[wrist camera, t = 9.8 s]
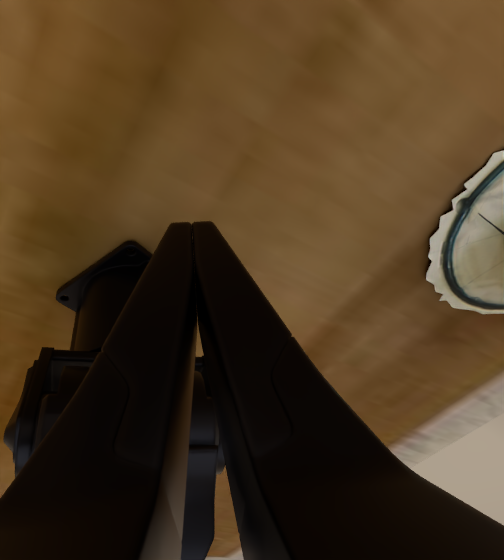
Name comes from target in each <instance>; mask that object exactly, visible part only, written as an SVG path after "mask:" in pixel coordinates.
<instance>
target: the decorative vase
mask: <svg viewBox="0 0 504 560" xmlns="http://www.w3.org/2000/svg"><path fill="white" fill-rule="evenodd" d="M464 186H465V187H466V188H467V190H466V191H464V192H463V193H461V194H460V195H458V196H457V197H455V198H454V199H452V204H453V210H452V211H450V212H449V213H447V214H445V215H443V216H441V217H440V224H439V229H438V230H437V231H436V232H435V234H434V235H433V236H432V237H431V238H430V252H429V255H428V258H429V259H430V260H432V263H431V265H430V267H429V269H428V271H427V274H426V280H427V281H429V282H430V283H432V284H434V287H435V292H437V293H440V294H443V296H442V297H441V299H440V300H439V301H445V300H447V301H448V303H449V304H450V305H451V306H452V308H458V309H465V310H474V311H477V312H479V313H482V314H504V151H500V152H496V153H493V155H492V157H491V158H490V160H489V161H488V163H487V165H486V166H485V167H484V168H482V169H481V170H480V171H479V172H478V173H477V174H476V175H475V176H474V177H472V178H471V179H470V180H469V181H467V182H466V183H465V184H464Z"/></svg>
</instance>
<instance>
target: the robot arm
mask: <svg viewBox="0 0 504 560" xmlns="http://www.w3.org/2000/svg"><path fill="white" fill-rule="evenodd" d="M192 236H193V240H192ZM128 249H134V250H133V251H129V250H128ZM193 253H194V256H193ZM194 269H195V273H194ZM195 286H196V288H195ZM63 295H66V296H63ZM56 300H57V301H58V302H60V303H61V304H63V305H65V306H66V307H68V308H70V309H72V310H73V311H75V312H76V316H75V322H74V328H73V334H72V341H71V347H70V350H54V348H48V347H42V350H41V353H40V356H39V359H38V360H35V361H34V364H33V367H31V368H29V369H28V371H27V375H26V379H25V384H24V388H23V392H22V395H21V398H20V400H19V403H18V405H17V407H16V409H15V411H14V413H13V415H12V417H11V419H10V421H9V423H8V425H7V427H6V429H5V433H4V443H5V444H6V445H7V446H8V447H9V449H10V450H11V451H12V452H13V462H14V463H15V479H14V481H13V482H12V483H11V485H10V486H9V487H8V489H7V490H6V491H5V493H4V494H3V495H2V497H1V498H0V560H205V558H206V556H207V553H208V551H209V549H210V546H211V544H212V542H213V539H214V497H215V484H216V474H221V473H222V471H223V469H224V467H225V465H226V470H227V476H228V481H229V486H230V491H231V496H232V501H233V506H234V511H235V516H236V521H237V526H238V532H239V533H240V542H241V547H242V552H243V557H244V560H504V526H503V525H502V524H500V523H498V522H497V521H495V520H493V519H491V518H490V517H488V516H486V515H484V514H483V513H481V512H480V511H478V510H476V509H475V508H473V507H471V506H470V505H468V504H466V503H464V502H463V501H461V500H459V499H458V498H456V497H454V496H452V495H451V494H449V493H448V492H446V491H444V490H442V489H441V488H439V487H437V486H436V485H434V484H432V483H430V482H429V481H427V480H426V479H424V478H422V477H420V476H419V475H418V474H416V473H415V472H414V471H412V470H411V469H410V468H408V467H407V466H406V465H405V464H404V463H402V462H401V461H400V460H399V459H398V458H397V457H396V456H395V455H394V454H393V453H392V452H391V451H390V450H389V449H388V448H387V447H386V446H385V445H384V444H383V443H382V442H381V441H380V439H379V438H378V437H377V436H376V435H375V434H374V433H373V432H372V431H371V429H370V428H369V427H368V426H367V425H366V424H365V423H364V422H363V421H362V420H361V418H360V417H359V416H358V415H357V414H356V413H355V412H354V411H353V410H352V409H351V407H350V406H349V405H348V404H347V403H346V402H345V401H344V400H343V399H342V397H341V396H340V395H339V394H338V393H337V392H336V391H335V390H334V388H333V387H332V386H331V385H330V384H329V383H328V381H327V380H326V379H325V378H324V377H323V375H322V374H321V373H320V372H319V371H318V369H317V368H316V367H315V365H314V364H313V363H312V361H311V360H310V359H309V357H308V356H307V355H306V353H305V352H304V351H303V349H302V348H301V346H300V345H299V344H298V342H297V341H296V339H295V338H294V337H291V336H292V334H291V333H290V331H289V330H288V328H287V327H286V325H285V324H284V323H283V321H282V320H281V318H280V317H279V315H278V314H277V313H276V311H275V310H274V308H273V307H272V305H271V304H270V303H269V301H268V300H267V298H266V297H265V295H264V294H263V293H262V291H261V290H260V288H259V287H258V286H257V284H256V283H255V281H254V280H253V278H252V277H251V276H250V274H249V273H248V271H247V270H246V268H245V267H244V266H243V264H242V263H241V261H240V260H239V258H238V257H237V256H236V254H235V253H234V251H233V250H232V249H231V247H230V246H229V244H228V243H227V241H226V240H225V239H224V237H223V236H222V234H221V233H220V231H219V230H218V229H217V227H216V226H215V224H214V223H213V222H211V221H201V222H194V223H193V224H192V225H191V223H189V222H178V223H171V224H170V225H169V227H168V229H167V230H166V232H165V234H164V236H163V238H162V239H161V241H160V243H159V245H158V247H157V248H156V250H155V252H154V254H153V255H152V254H151V253H150V252H148V251H147V250H146V249H145V248H143V247H142V246H141V245H139V244H138V243H137V242H135V241H127V242H124V243H123V244H122V245H120V246H119V247H117V248H116V249H115V250H113V251H112V252H110V253H109V254H108V255H106V256H105V257H103V258H102V259H101V260H99V261H98V262H96V263H95V264H93V265H92V266H91V267H89V268H88V269H86V270H85V271H84V272H82V273H81V274H79V275H78V276H77V277H75V278H74V279H72V280H71V281H70V282H68V283H67V284H65V285H64V286H63V287H61V288H60V289H58V291H57V293H56ZM196 305H197V306H196ZM197 317H198V327H199V333H200V338H201V343H202V348H203V353H204V356H202V357H195V354H196V340H197Z"/></svg>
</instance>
